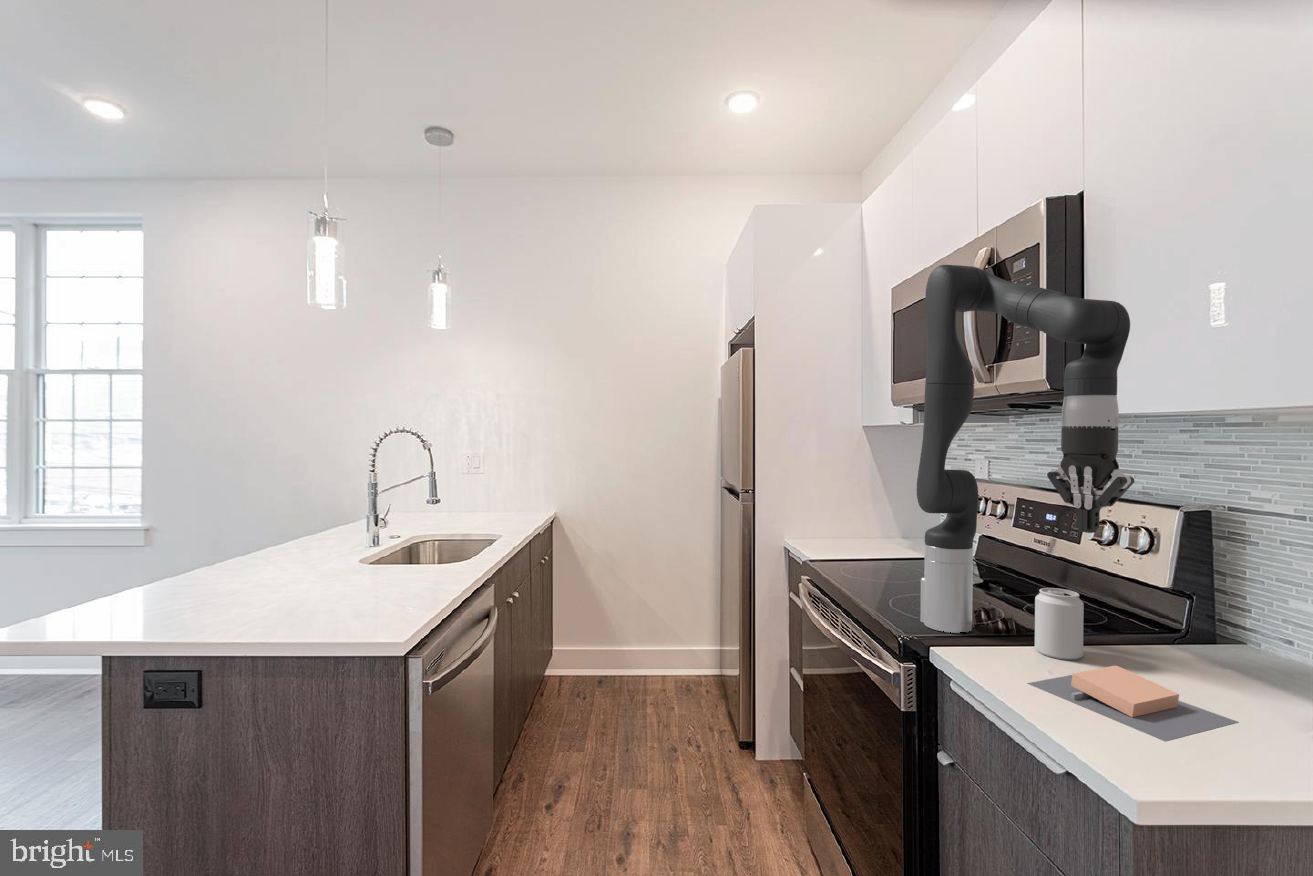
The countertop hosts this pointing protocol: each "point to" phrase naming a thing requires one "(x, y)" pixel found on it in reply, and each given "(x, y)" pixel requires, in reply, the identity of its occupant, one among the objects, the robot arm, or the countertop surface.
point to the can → (1059, 624)
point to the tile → (1125, 690)
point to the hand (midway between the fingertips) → (1087, 531)
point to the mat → (1155, 724)
